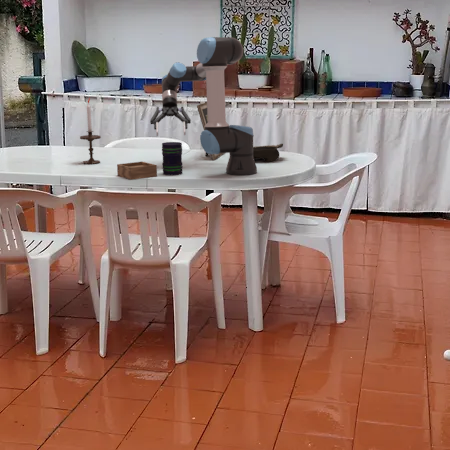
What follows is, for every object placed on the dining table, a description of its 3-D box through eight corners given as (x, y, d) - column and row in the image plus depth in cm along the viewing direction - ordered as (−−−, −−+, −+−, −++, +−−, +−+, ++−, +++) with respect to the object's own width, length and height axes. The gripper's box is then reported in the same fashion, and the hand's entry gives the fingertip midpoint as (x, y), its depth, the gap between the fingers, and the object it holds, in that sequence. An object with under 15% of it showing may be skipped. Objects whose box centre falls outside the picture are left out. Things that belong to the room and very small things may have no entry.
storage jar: (159, 175, 363) (158, 144, 360) (166, 171, 373) (165, 141, 369) (179, 175, 361) (178, 144, 357) (185, 172, 370) (184, 142, 367)
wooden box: (157, 176, 360) (156, 165, 358) (131, 179, 352) (130, 168, 351) (142, 172, 371) (142, 161, 369) (117, 175, 363) (117, 164, 362)
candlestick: (102, 161, 408) (98, 96, 400) (101, 164, 397) (98, 97, 389) (81, 161, 406) (78, 96, 398) (81, 165, 396) (77, 98, 388)
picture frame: (214, 160, 406) (214, 104, 399) (197, 160, 408) (195, 104, 400) (226, 152, 437) (226, 100, 430) (210, 151, 439) (209, 100, 432)
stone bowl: (286, 162, 395) (285, 145, 393) (239, 166, 396) (238, 149, 393) (282, 155, 419) (281, 138, 417) (238, 159, 419) (237, 142, 417)
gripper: (193, 105, 388) (195, 137, 377) (145, 106, 386) (146, 138, 375) (194, 95, 381) (196, 128, 370) (145, 96, 379) (145, 129, 368)
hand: (171, 133), depth 372 cm, fingers open, 13 cm apart
